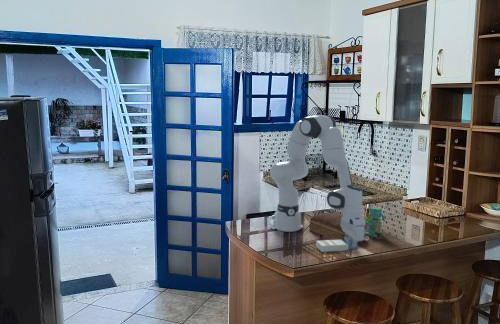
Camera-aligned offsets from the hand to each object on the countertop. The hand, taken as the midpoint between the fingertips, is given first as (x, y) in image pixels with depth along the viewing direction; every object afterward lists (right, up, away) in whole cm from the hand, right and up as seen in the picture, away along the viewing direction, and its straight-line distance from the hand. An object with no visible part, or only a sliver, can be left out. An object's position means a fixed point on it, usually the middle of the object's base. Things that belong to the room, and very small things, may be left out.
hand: (350, 244), depth 228 cm
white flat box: (-10, -2, -2) cm, 10 cm away
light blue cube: (0, -2, 0) cm, 2 cm away
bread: (-4, +1, +21) cm, 21 cm away
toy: (+18, +1, +23) cm, 29 cm away
